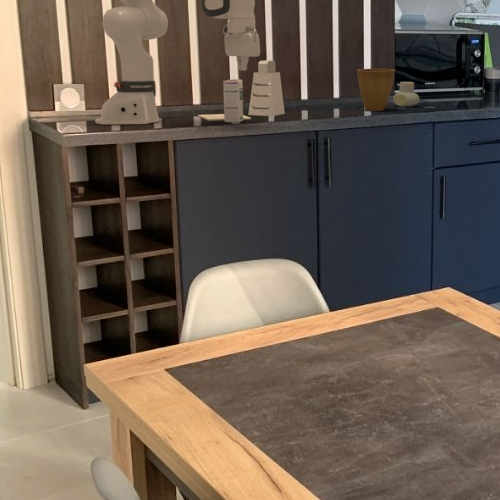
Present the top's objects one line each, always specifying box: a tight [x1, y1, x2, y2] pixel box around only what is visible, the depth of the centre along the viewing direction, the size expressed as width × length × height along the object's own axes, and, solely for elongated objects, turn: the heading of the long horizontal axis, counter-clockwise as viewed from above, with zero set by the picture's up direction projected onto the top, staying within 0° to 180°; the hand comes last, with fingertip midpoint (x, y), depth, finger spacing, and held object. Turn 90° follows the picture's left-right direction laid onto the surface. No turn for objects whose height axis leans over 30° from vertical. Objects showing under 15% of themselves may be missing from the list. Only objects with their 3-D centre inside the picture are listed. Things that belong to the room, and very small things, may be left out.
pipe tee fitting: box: [392, 81, 420, 108], centre depth 349 cm, size 11×8×10 cm
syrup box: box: [223, 78, 244, 123], centre depth 293 cm, size 6×6×14 cm
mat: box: [197, 113, 252, 122], centre depth 306 cm, size 16×16×1 cm
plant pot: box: [356, 68, 396, 112], centre depth 332 cm, size 15×15×16 cm
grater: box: [247, 60, 286, 117], centre depth 317 cm, size 10×10×20 cm
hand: (242, 70), depth 279 cm, fingers closed
